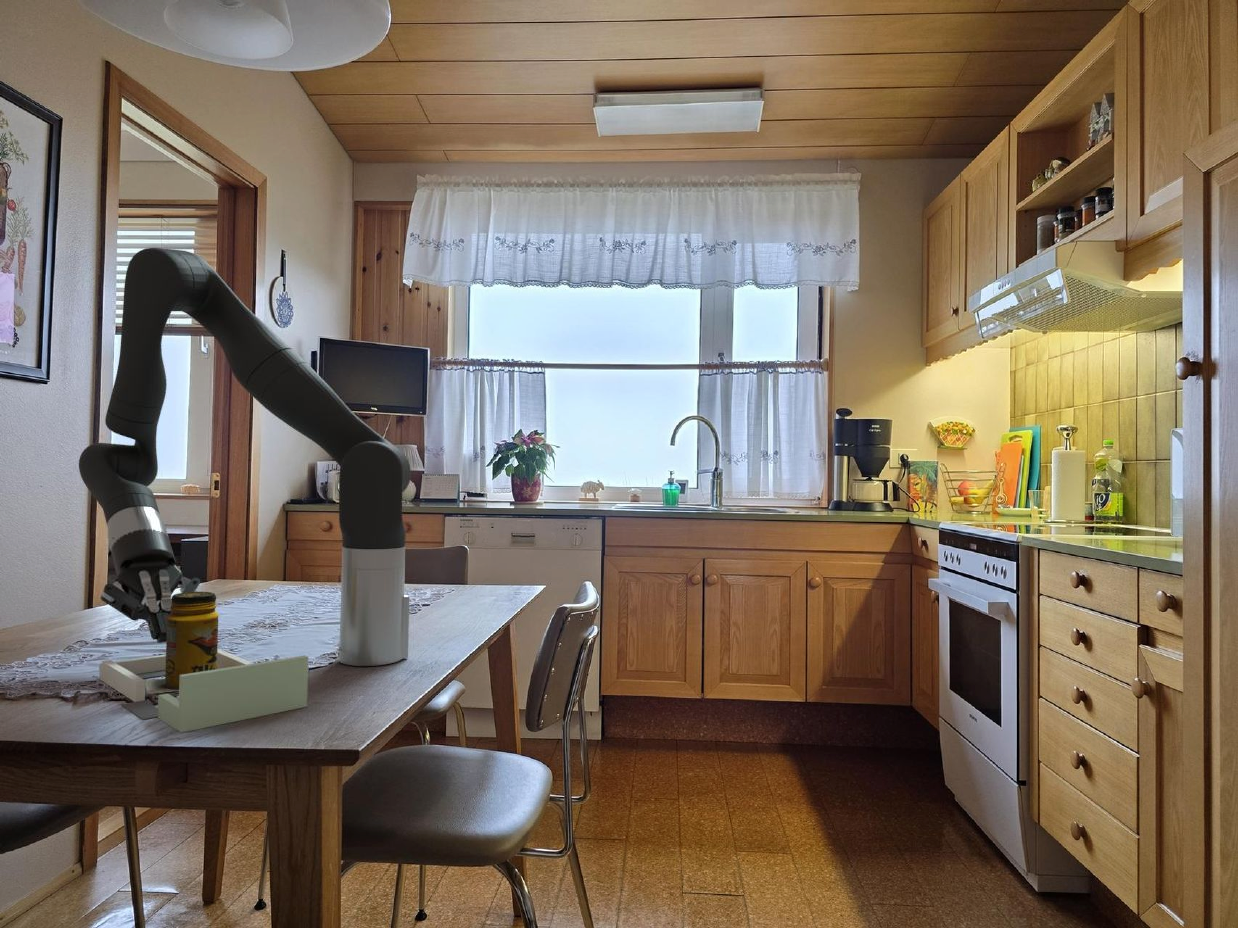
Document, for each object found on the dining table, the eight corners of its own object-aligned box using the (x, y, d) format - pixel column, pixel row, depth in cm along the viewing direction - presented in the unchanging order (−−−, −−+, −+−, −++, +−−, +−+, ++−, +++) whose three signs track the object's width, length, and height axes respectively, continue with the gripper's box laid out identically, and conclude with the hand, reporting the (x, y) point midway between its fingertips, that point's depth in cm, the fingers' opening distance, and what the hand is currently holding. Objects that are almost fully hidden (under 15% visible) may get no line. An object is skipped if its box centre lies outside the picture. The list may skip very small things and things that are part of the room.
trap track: (209, 662, 115) (210, 621, 116) (306, 706, 95) (308, 656, 95) (85, 680, 104) (87, 635, 104) (165, 735, 83) (167, 679, 83)
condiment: (222, 687, 103) (225, 595, 103) (147, 695, 98) (150, 599, 98) (215, 675, 109) (218, 588, 109) (144, 682, 104) (147, 592, 104)
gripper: (94, 528, 110) (117, 628, 102) (194, 526, 120) (223, 616, 111) (82, 563, 114) (104, 662, 105) (181, 557, 123) (208, 648, 115)
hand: (165, 638), depth 108 cm, fingers closed
